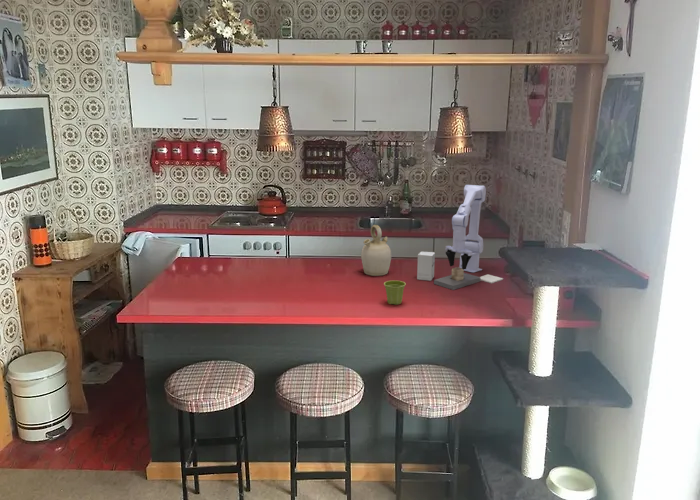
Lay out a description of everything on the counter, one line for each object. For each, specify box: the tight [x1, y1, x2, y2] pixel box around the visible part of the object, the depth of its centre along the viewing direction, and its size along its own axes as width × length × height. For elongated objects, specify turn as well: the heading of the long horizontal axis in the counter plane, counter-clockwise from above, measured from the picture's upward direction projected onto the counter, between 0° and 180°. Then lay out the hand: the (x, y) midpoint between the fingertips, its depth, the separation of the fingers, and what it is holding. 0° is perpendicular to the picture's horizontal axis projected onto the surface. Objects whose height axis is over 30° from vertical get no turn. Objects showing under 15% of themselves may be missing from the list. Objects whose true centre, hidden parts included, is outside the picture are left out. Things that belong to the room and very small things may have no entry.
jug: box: [360, 224, 392, 277], centre depth 297 cm, size 15×16×25 cm
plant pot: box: [383, 280, 406, 305], centre depth 255 cm, size 9×9×9 cm
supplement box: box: [416, 251, 436, 282], centre depth 289 cm, size 7×7×13 cm
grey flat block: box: [433, 272, 482, 291], centre depth 283 cm, size 12×20×2 cm, turn 130°
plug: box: [451, 266, 465, 281], centre depth 282 cm, size 4×4×7 cm
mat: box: [480, 274, 504, 284], centre depth 288 cm, size 9×9×1 cm
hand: (457, 267), depth 281 cm, fingers open, 7 cm apart
